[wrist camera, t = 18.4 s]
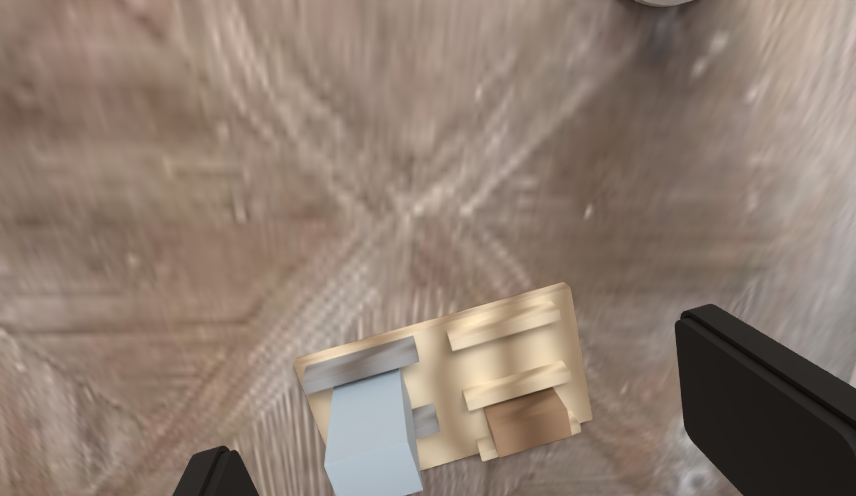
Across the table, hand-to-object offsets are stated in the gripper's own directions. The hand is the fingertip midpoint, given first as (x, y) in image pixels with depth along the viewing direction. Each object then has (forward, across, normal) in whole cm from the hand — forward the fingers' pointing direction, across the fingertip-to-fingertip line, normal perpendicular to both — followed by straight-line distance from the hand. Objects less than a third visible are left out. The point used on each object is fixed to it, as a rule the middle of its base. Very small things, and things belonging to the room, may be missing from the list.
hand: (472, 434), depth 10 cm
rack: (+32, 0, +21) cm, 39 cm away
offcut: (+31, -6, +24) cm, 40 cm away
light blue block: (+31, +7, +18) cm, 36 cm away
